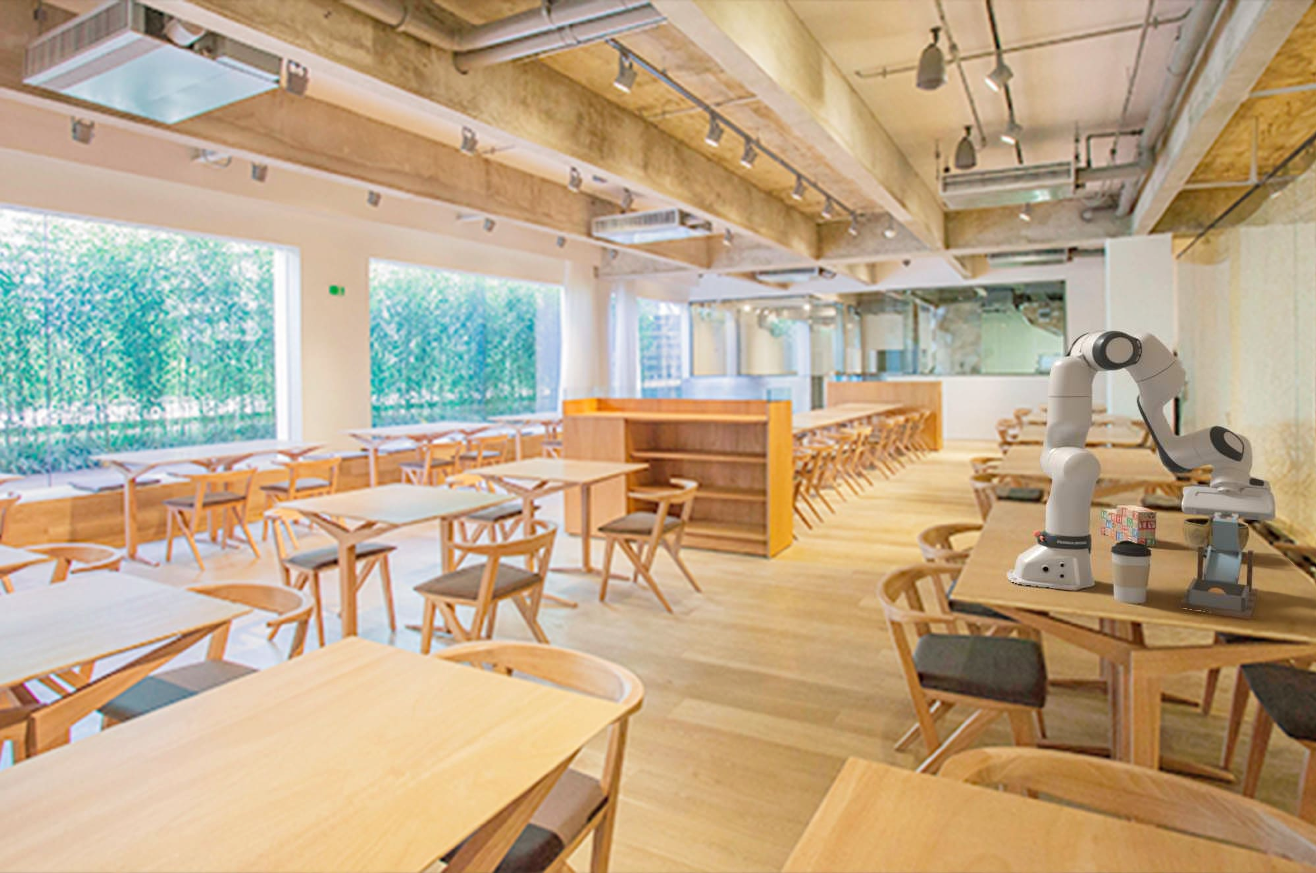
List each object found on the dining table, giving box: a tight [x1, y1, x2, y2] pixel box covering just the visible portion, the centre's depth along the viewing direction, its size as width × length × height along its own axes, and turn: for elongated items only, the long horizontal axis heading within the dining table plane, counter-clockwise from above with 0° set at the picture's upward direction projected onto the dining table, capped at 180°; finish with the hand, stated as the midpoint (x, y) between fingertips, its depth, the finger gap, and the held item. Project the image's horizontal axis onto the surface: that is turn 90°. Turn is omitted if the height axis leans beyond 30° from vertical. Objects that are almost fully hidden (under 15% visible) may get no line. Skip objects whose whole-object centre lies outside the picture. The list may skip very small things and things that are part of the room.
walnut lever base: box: [1179, 545, 1259, 620], centre depth 196 cm, size 26×14×12 cm, turn 139°
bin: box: [1186, 577, 1249, 612], centre depth 192 cm, size 14×12×4 cm
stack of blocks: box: [1100, 504, 1158, 547], centre depth 268 cm, size 21×6×12 cm, turn 0°
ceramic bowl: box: [1182, 516, 1250, 557], centre depth 243 cm, size 22×17×15 cm
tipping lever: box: [1203, 518, 1247, 585], centre depth 201 cm, size 18×9×16 cm, turn 138°
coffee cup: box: [1110, 541, 1152, 605], centre depth 199 cm, size 9×9×15 cm
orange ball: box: [1208, 588, 1226, 594], centre depth 189 cm, size 4×4×4 cm
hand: (1225, 528), depth 202 cm, fingers closed, pressing on tipping lever
